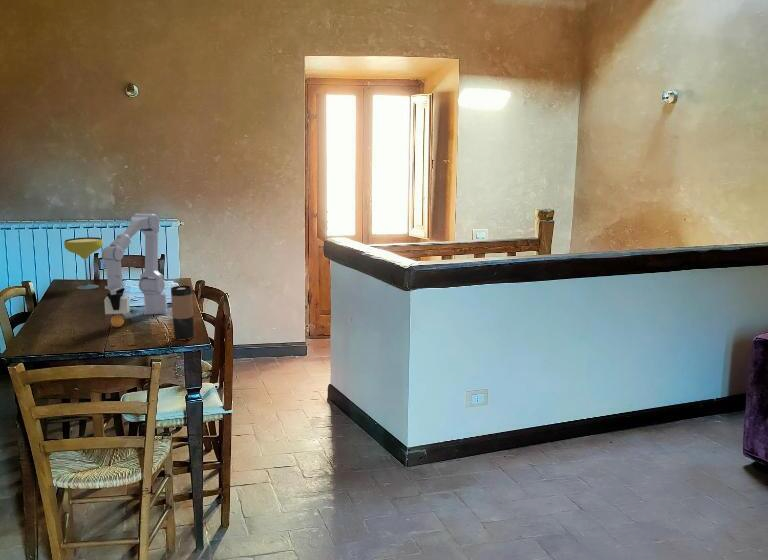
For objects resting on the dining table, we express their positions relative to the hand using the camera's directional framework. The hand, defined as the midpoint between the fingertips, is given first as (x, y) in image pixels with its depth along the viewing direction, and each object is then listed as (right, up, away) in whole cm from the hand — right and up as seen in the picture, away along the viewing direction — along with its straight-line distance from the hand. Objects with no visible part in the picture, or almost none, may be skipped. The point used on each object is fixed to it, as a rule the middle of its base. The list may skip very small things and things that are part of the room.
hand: (117, 308), depth 286 cm
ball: (0, -5, +1) cm, 5 cm away
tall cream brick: (0, -2, 0) cm, 2 cm away
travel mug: (+32, -11, -15) cm, 37 cm away
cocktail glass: (-45, +7, +77) cm, 89 cm away
